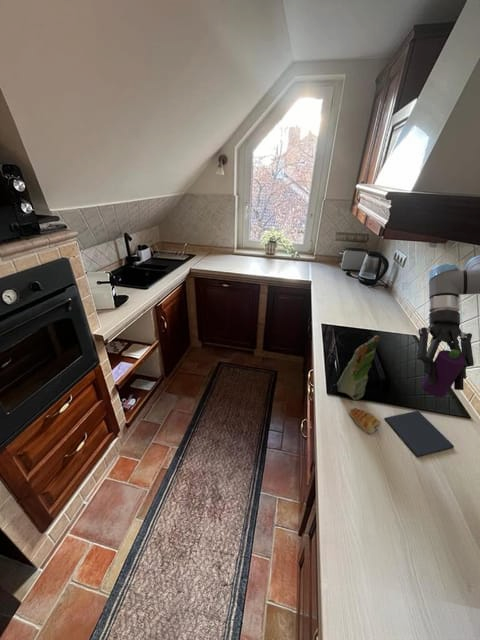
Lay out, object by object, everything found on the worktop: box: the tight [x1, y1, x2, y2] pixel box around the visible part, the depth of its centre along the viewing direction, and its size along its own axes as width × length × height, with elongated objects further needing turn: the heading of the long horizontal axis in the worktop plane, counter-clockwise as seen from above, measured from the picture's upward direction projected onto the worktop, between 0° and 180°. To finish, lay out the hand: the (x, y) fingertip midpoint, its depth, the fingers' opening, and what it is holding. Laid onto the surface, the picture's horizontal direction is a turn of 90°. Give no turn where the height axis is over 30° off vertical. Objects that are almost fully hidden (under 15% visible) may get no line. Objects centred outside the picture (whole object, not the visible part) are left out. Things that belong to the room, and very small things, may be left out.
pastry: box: [350, 407, 381, 435], centre depth 86 cm, size 9×7×4 cm
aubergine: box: [421, 349, 466, 398], centre depth 75 cm, size 6×6×15 cm
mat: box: [384, 410, 455, 458], centre depth 84 cm, size 14×14×1 cm
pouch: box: [336, 334, 381, 401], centre depth 93 cm, size 11×12×25 cm
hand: (445, 387), depth 74 cm, fingers closed on aubergine, 6 cm apart
